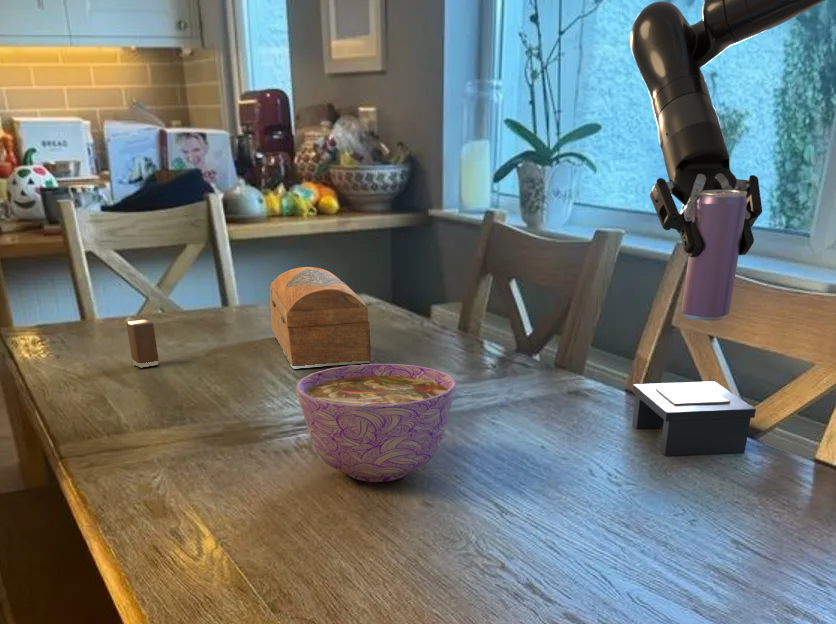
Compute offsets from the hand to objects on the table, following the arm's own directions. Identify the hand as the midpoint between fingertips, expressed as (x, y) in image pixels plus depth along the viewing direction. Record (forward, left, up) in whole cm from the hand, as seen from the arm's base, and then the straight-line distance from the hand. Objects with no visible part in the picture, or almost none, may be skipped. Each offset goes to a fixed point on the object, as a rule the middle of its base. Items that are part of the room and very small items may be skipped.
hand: (721, 251), depth 113 cm
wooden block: (+84, -57, -25) cm, 104 cm away
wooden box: (+51, -65, -25) cm, 86 cm away
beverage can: (0, -2, -8) cm, 9 cm away
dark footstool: (0, -3, -25) cm, 25 cm away
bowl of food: (+44, +5, -25) cm, 51 cm away
